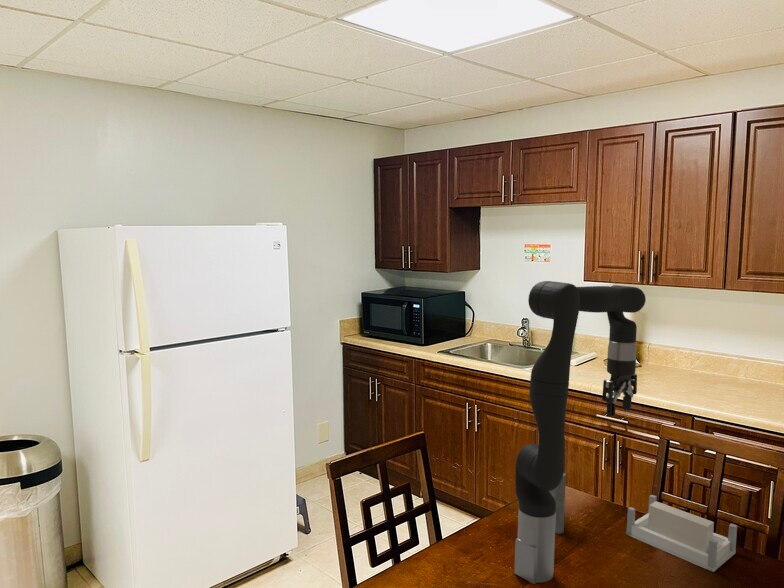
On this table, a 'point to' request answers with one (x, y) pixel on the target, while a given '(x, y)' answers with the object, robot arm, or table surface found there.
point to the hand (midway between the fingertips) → (618, 412)
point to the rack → (712, 561)
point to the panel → (680, 526)
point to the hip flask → (559, 505)
